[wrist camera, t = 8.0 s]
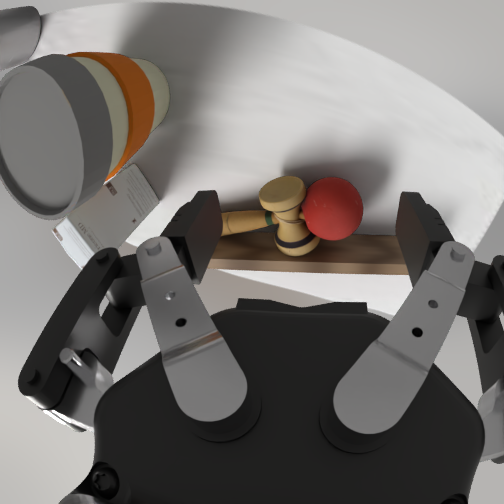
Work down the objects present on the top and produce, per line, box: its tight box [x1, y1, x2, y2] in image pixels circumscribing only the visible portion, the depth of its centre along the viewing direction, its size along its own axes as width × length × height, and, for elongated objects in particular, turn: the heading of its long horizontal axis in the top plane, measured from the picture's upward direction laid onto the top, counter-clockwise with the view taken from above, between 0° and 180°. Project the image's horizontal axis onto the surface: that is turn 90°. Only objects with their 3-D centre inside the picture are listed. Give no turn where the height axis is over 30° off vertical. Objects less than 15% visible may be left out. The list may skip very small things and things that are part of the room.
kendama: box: [221, 176, 363, 256], centre depth 29 cm, size 8×6×18 cm
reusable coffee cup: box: [0, 52, 170, 220], centre depth 20 cm, size 13×13×15 cm
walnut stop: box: [207, 232, 409, 275], centre depth 30 cm, size 24×1×5 cm, turn 97°
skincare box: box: [52, 164, 159, 270], centre depth 28 cm, size 6×4×12 cm
